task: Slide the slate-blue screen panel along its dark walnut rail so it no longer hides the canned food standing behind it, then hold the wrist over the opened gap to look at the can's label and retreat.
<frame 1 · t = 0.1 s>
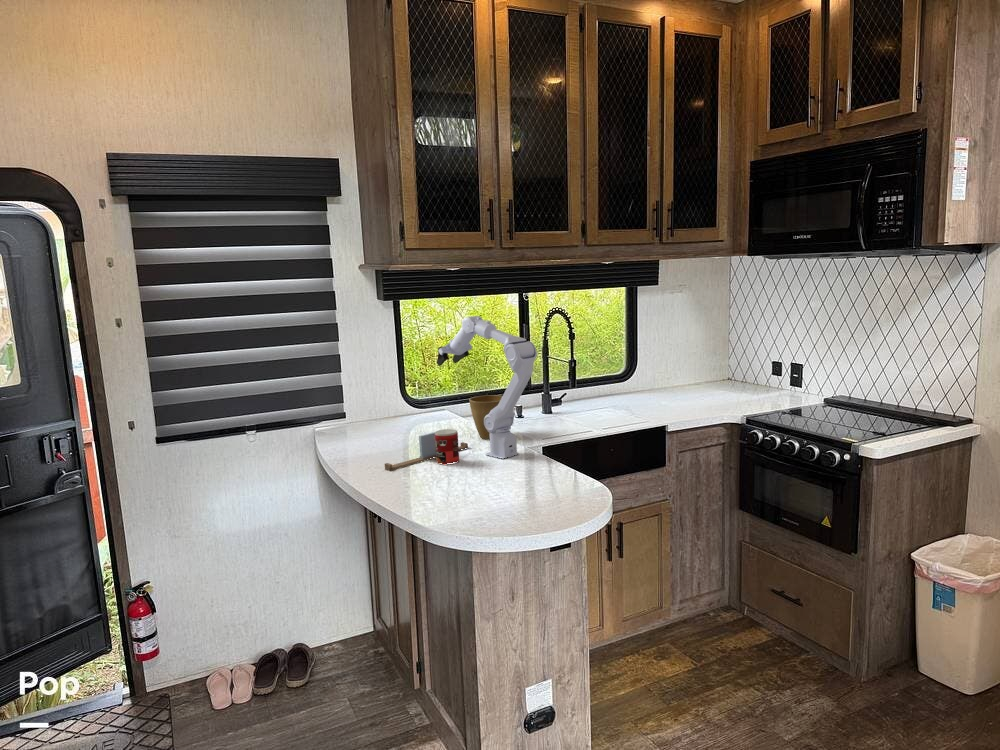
hand: (446, 362, 264), 32 cm above the worktop, tool tilted 50°, fingers open, 7 cm apart
screen panel: (431, 444, 250), point 5 cm above the worktop, slide at 0.0 cm
canned food: (448, 462, 243), on the worktop
rail: (428, 458, 249), on the worktop
plant pot: (490, 438, 275), on the worktop
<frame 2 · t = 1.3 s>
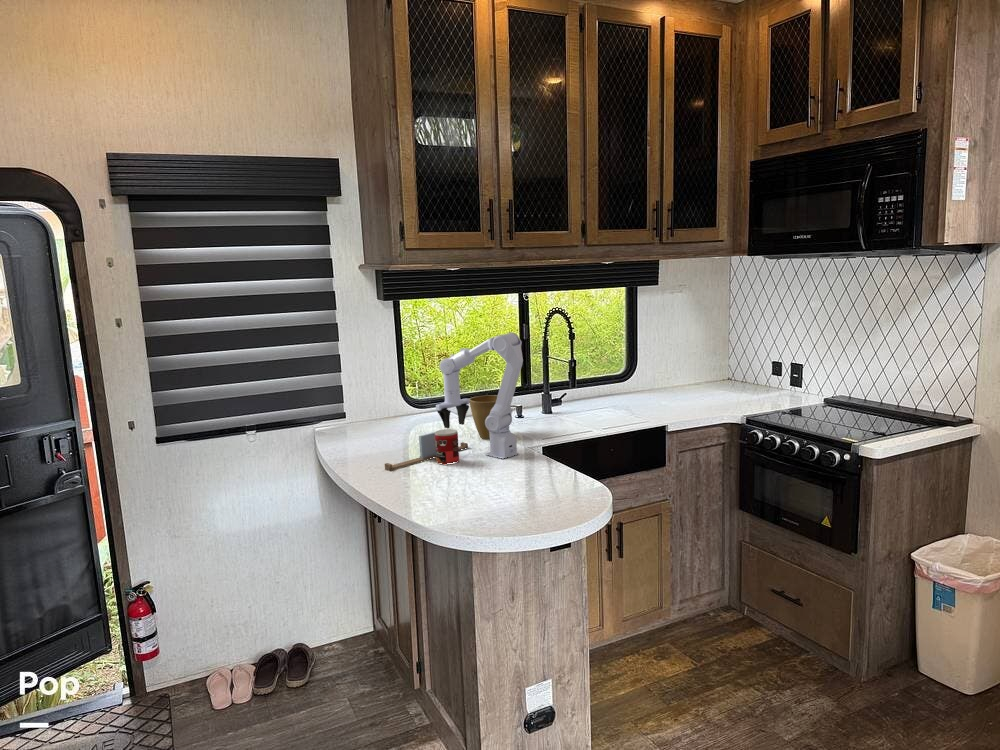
hand: (454, 426, 257), 9 cm above the worktop, tool pointing down, fingers open, 6 cm apart
nothing on the worktop moved.
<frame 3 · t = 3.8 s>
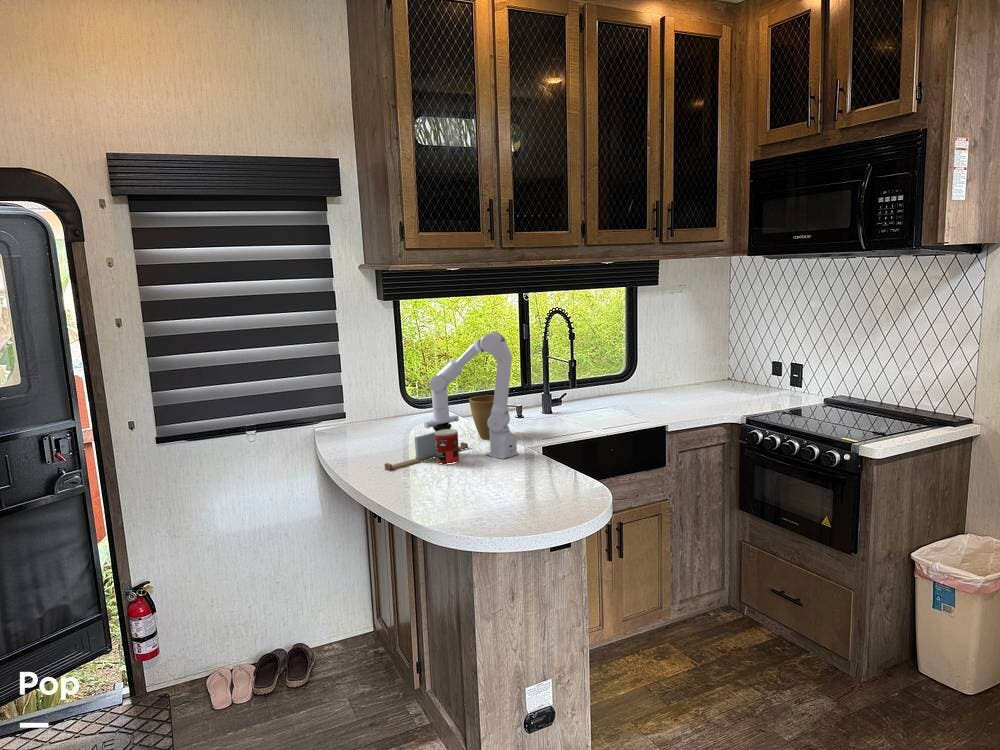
hand: (443, 443, 254), 4 cm above the worktop, tool pointing down, fingers closed
screen panel: (427, 445, 249), point 5 cm above the worktop, slide at 1.9 cm, touching gripper
everything else where it was.
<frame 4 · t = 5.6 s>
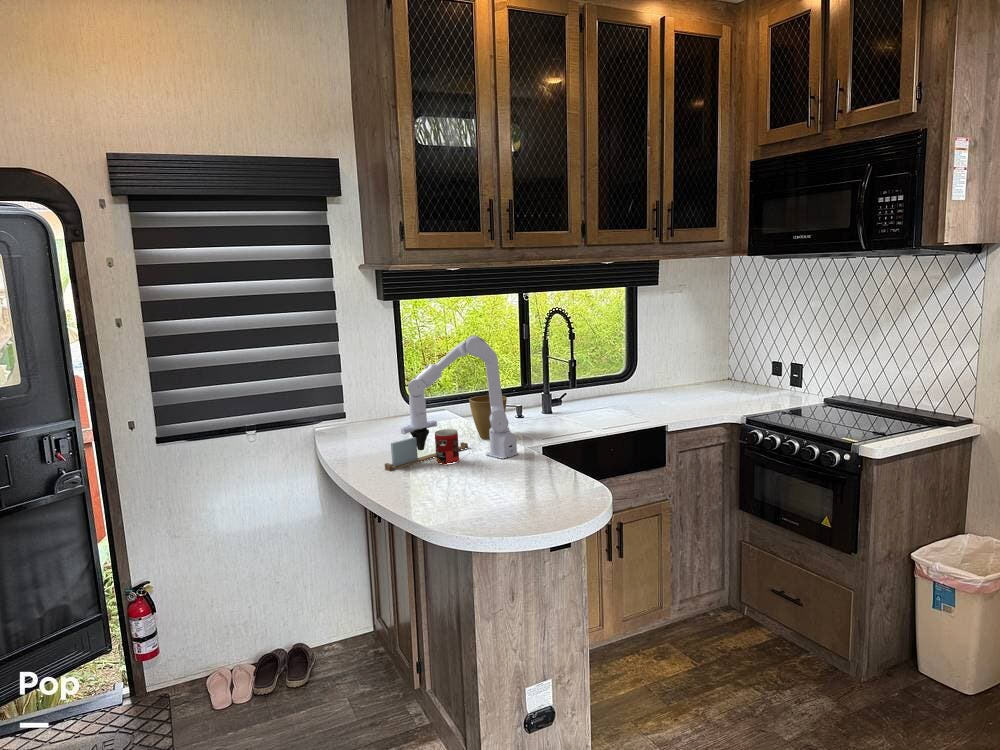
hand: (420, 449, 247), 4 cm above the worktop, tool pointing down, fingers closed
screen panel: (404, 451, 242), point 5 cm above the worktop, slide at 12.0 cm, touching gripper
everything else where it was.
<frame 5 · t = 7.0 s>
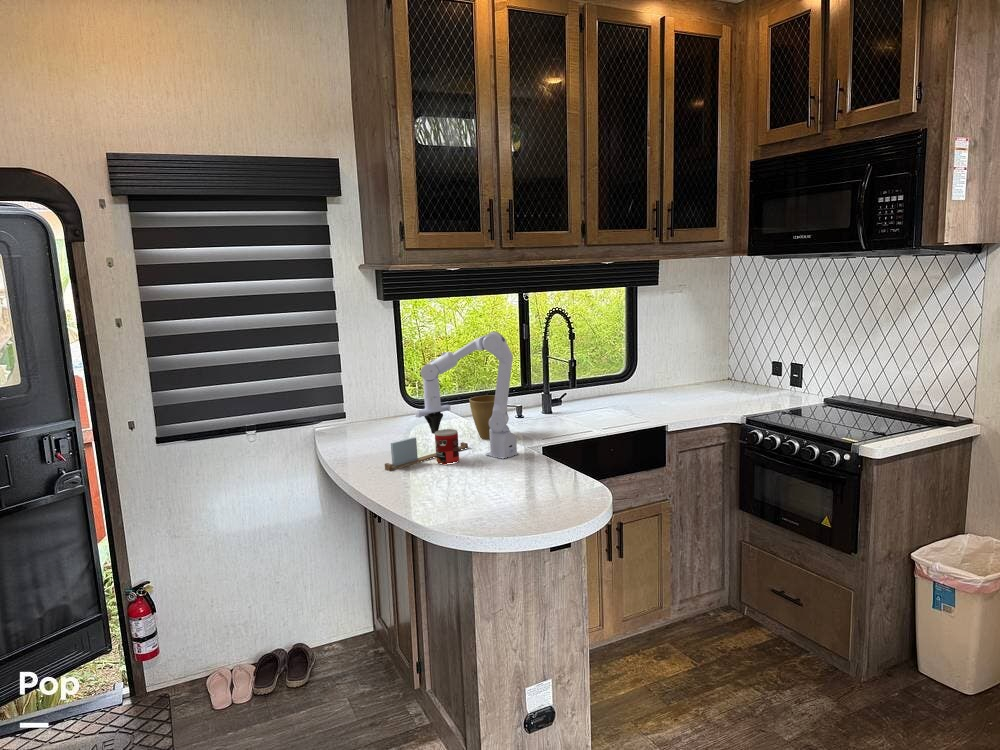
hand: (435, 433, 250), 9 cm above the worktop, tool pointing down, fingers closed
screen panel: (404, 451, 242), point 5 cm above the worktop, slide at 12.1 cm
everything else where it was.
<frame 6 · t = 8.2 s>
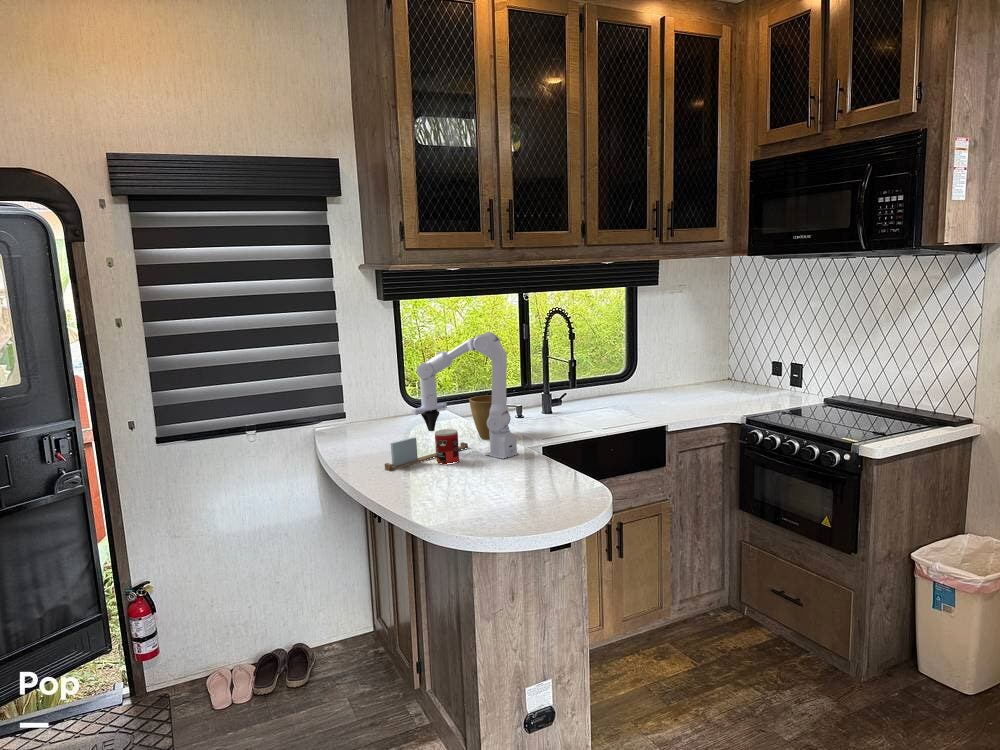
hand: (431, 430, 256), 8 cm above the worktop, tool pointing down, fingers closed
nothing on the worktop moved.
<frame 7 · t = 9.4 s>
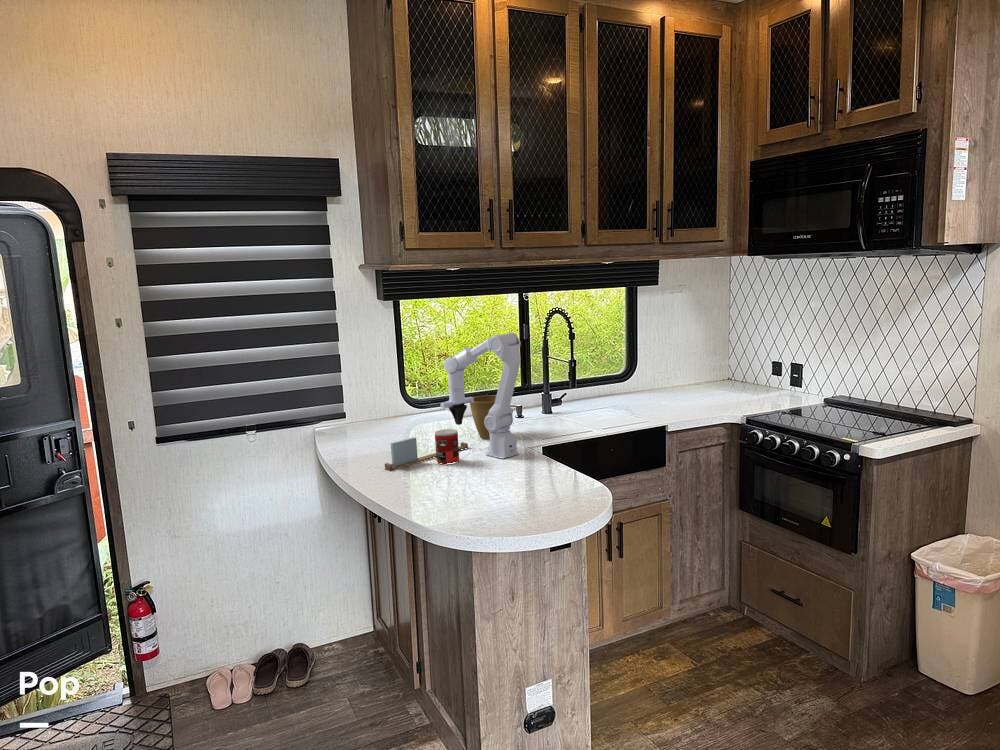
hand: (458, 424, 259), 9 cm above the worktop, tool pointing down, fingers closed
nothing on the worktop moved.
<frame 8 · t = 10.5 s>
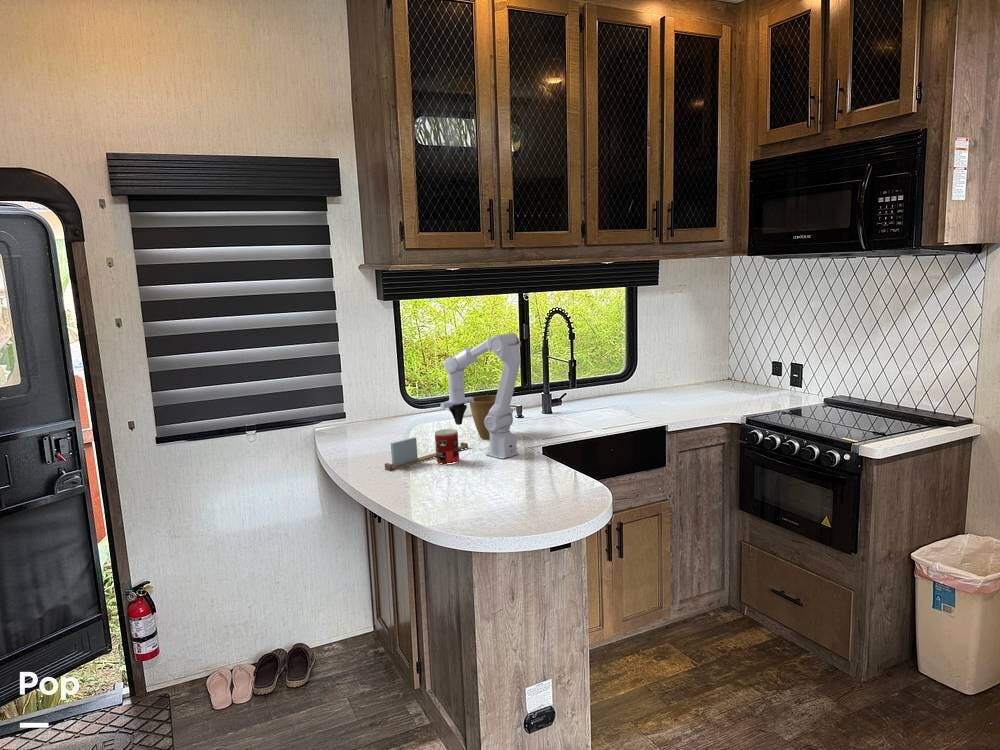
hand: (458, 424, 259), 9 cm above the worktop, tool pointing down, fingers closed
nothing on the worktop moved.
at the end: screen panel slide at 12.1 cm; canned food moved 0.2 cm from its start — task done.
